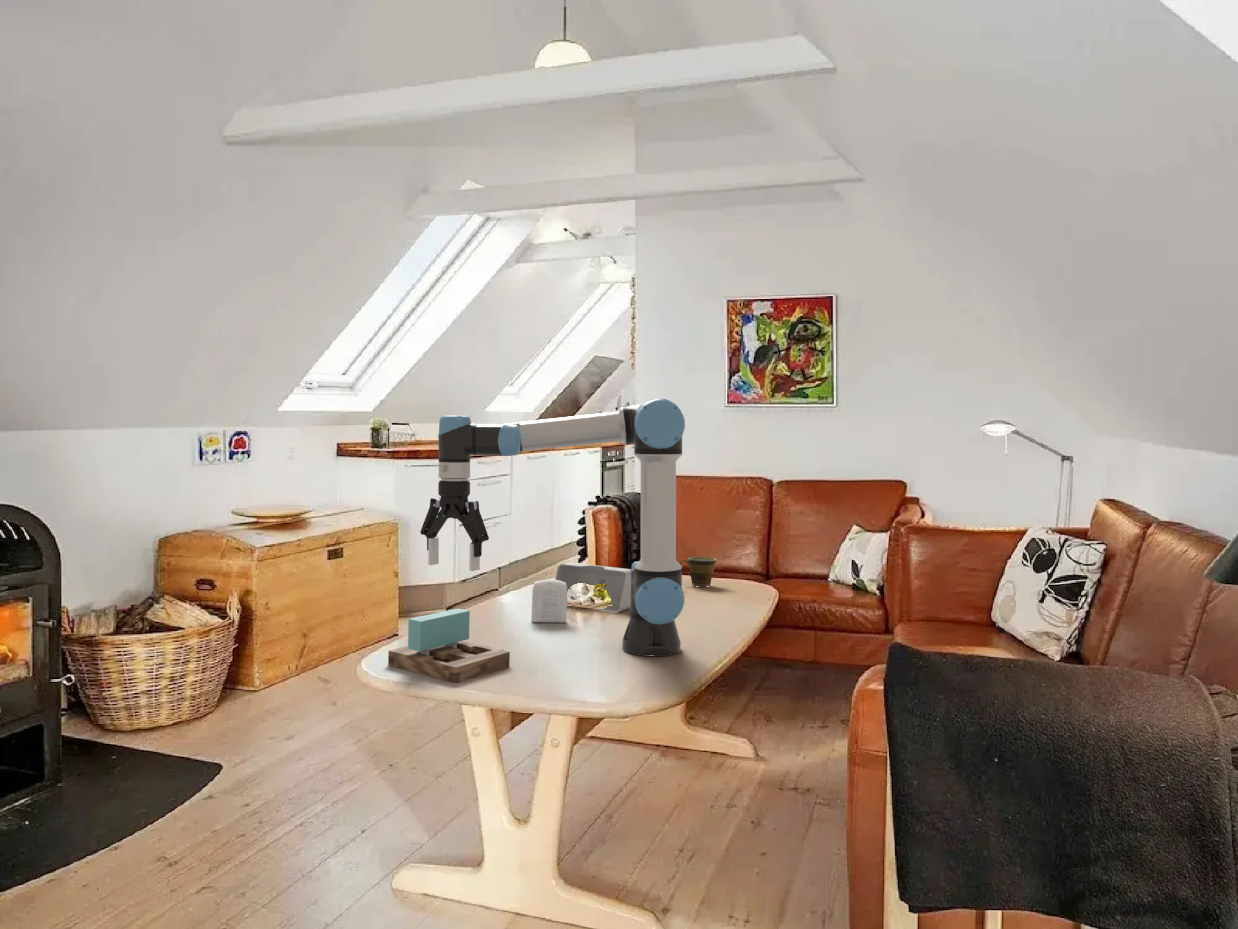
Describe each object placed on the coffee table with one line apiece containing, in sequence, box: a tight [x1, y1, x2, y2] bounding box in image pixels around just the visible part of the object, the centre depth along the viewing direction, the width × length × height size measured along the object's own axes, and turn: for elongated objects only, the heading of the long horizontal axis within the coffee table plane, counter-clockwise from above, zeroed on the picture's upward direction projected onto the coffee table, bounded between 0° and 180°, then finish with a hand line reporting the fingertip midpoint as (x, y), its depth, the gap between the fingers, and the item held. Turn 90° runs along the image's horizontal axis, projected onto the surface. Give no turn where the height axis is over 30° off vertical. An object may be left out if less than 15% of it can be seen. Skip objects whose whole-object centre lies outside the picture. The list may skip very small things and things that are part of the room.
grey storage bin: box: [554, 561, 631, 614], centre depth 291 cm, size 25×16×12 cm, turn 62°
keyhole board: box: [387, 640, 511, 684], centre depth 215 cm, size 22×18×4 cm
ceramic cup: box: [679, 556, 717, 588], centre depth 329 cm, size 13×10×10 cm
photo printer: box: [530, 578, 568, 624], centre depth 265 cm, size 10×4×12 cm, turn 98°
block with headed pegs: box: [407, 608, 471, 656], centre depth 217 cm, size 4×16×12 cm, turn 145°
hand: (453, 567), depth 219 cm, fingers open, 13 cm apart
